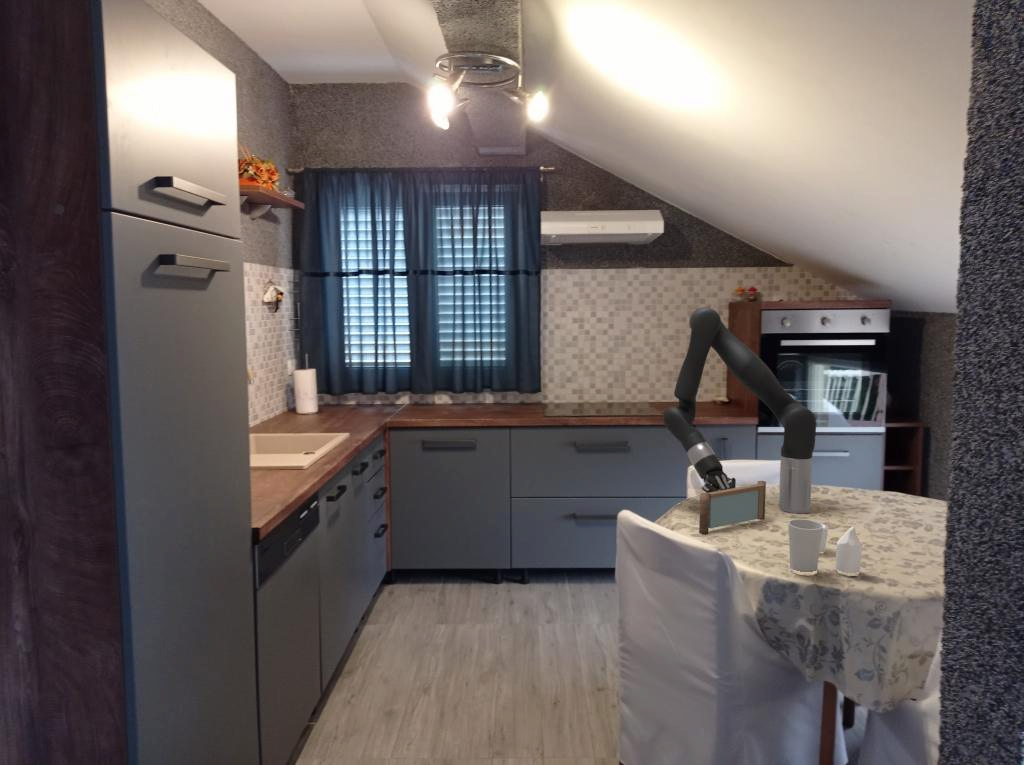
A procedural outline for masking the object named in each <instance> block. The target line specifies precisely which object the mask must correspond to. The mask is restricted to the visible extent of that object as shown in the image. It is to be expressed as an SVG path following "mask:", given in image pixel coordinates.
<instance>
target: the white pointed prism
mask: <svg viewBox="0 0 1024 765" xmlns="http://www.w3.org/2000/svg"><path fill="white" fill-rule="evenodd" d="M862 549H863V546H862V542H861V541H860V538H859V537H858V534H857V532H856V528H855V526H854V525H852V526H851V527H850V528H848V529H847V530H846V531H845V533H844V534H843V536H841V537H840V538H839V539H838V540H837V543H836V555H835V567H834V568H836V569H837V570H839V571H842V572H846V573H856V572H859V571H860V572H861V565H862V562H861V561H862V552H863V551H862ZM860 572H859V573H860Z"/></svg>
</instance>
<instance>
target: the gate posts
mask: <svg viewBox="0 0 1024 765" xmlns="http://www.w3.org/2000/svg"><path fill="white" fill-rule="evenodd" d="M757 484H762V485H764V490H763V518H762V519H761V520H765V519H766V516H765V515H766V492H767V490H766V488H767V486H766V485H767V482H766V481H765V480H757ZM698 522H699V523H698V524H699V525H698V527H699V529H698V532H699V533H698V534H700V535H708V534H709V533H710V531H709V530H710V528H709V494H707V493H706V492H701V493H700V494H699V520H698Z"/></svg>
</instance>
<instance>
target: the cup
mask: <svg viewBox="0 0 1024 765" xmlns="http://www.w3.org/2000/svg"><path fill="white" fill-rule="evenodd" d="M821 523H822V522H819V521H815V520H812V519H804V518H794V519H790V520H789V521H788V522H787V530H788V545H789V569H790V568H791V569H793V570H796V571H800V572H813V571H816V570H817V571H818V566H819V557H820V554H819V551H820V543H821V538H822V531H823V525H822V524H821Z"/></svg>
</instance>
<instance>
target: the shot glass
mask: <svg viewBox="0 0 1024 765" xmlns="http://www.w3.org/2000/svg"><path fill="white" fill-rule="evenodd" d="M820 523H821V524H822V525H823V531H822V538H821V543H820V551H819V552H824V551H826V545H827V539H828V538H827V537H828V530H829V526H828V525H827V524H826V523H822V522H820ZM824 553H825V552H824Z"/></svg>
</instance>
